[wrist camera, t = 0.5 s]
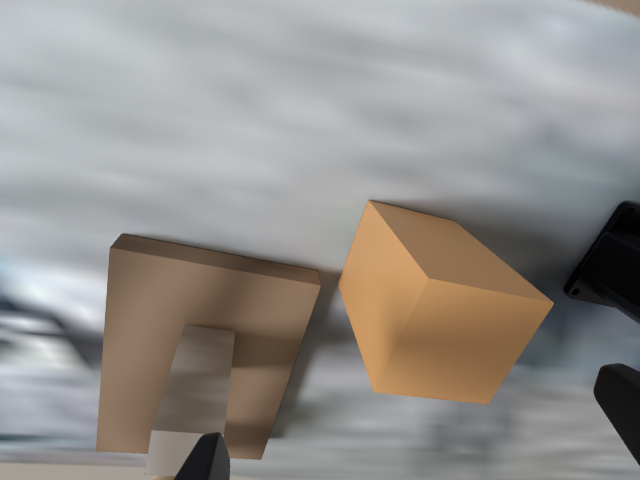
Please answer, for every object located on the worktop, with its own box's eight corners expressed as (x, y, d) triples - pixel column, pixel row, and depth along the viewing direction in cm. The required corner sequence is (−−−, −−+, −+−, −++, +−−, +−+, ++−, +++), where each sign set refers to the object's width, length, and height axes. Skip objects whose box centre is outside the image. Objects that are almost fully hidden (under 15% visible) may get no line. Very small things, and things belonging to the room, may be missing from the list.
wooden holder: (317, 270, 20) (344, 374, 13) (261, 438, 25) (260, 572, 19) (121, 233, 17) (33, 338, 11) (105, 428, 23) (40, 578, 16)
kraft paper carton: (455, 221, 20) (554, 303, 13) (418, 298, 22) (487, 404, 15) (368, 199, 18) (428, 278, 12) (337, 283, 20) (373, 392, 14)
